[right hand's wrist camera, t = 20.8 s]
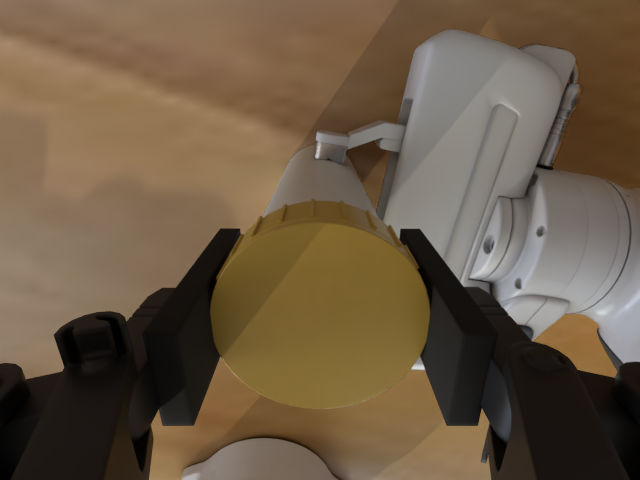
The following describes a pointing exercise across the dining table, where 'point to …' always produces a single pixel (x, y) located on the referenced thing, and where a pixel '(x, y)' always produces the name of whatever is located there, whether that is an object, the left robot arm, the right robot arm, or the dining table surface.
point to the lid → (320, 306)
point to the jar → (319, 183)
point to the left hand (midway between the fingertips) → (305, 201)
